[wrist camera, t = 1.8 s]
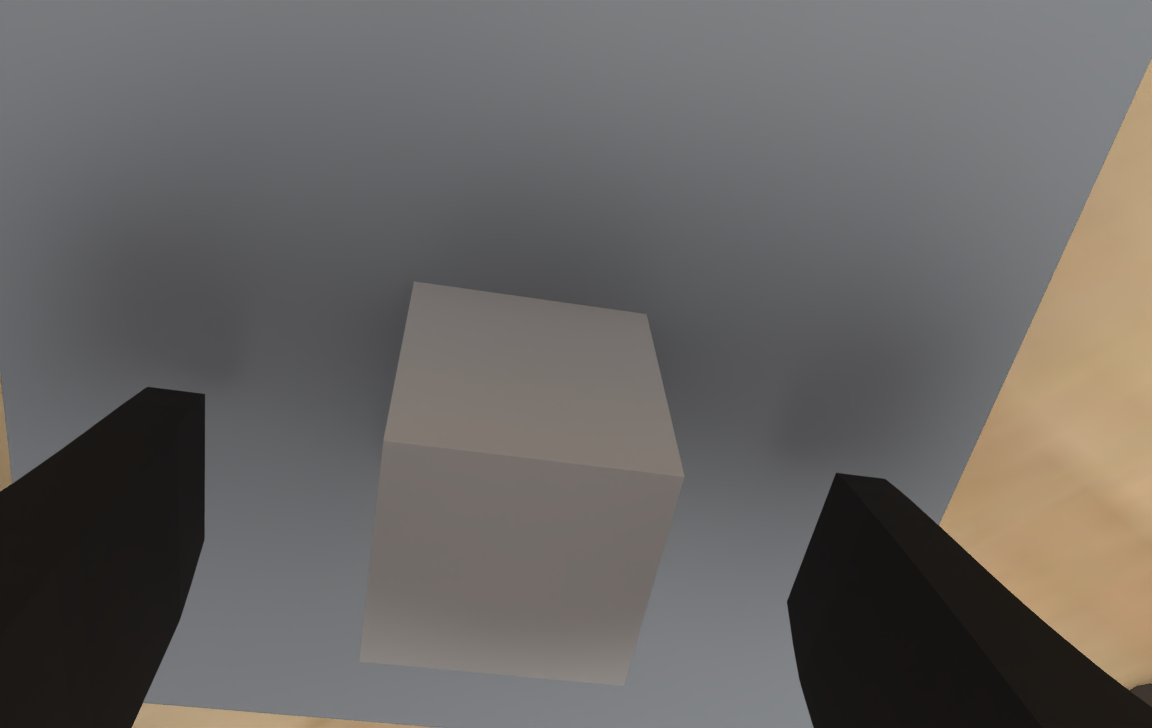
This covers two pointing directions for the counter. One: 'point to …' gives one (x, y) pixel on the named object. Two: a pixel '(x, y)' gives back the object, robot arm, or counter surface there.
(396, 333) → the lid
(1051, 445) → the counter surface
